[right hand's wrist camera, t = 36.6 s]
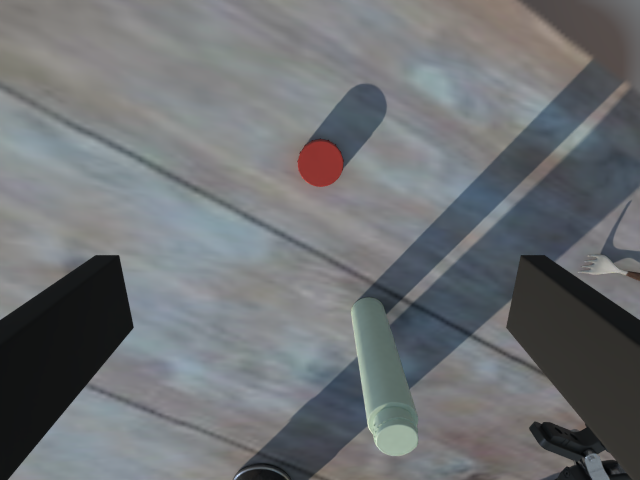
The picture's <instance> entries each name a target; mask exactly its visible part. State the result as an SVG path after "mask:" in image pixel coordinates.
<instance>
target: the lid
mask: <svg viewBox="0 0 640 480" xmlns="http://www.w3.org/2000/svg"><path fill="white" fill-rule="evenodd" d="M343 162H344V160H343V158H342V155H341V151H339V149H338V148H337V146H336V144H333V143H332V142H330V141H329V140H323V139H318V140H312V141H311V142H309V143H308V144H307V145H305V146H304V148H303V149H302V151H300V156H299V159H298V169H299V172H300V174H301V176H302V178H303V179H304V180H305V181H306V182H308V183H309V184H311V185H313V186H318V187H323V186H328V185H330V184H332V183H334V182H335V181H336V180H337V179H338V178H339V176H340V175H341V173H342V170H343Z"/></svg>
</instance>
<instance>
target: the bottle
mask: <svg viewBox="0 0 640 480" xmlns="http://www.w3.org/2000/svg"><path fill="white" fill-rule="evenodd" d="M351 315H352V322H353V329H354V335H355V342H356V349H357V356H358V362H359V369H360V376H361V383H362V389H363V396H364V403H365V410H366V416H367V423H368V427H369V430H370V431H371V432H372V434H373V435H374V442H375V444H376V446H377V447H378V448H379V450H380V451H382V452H383V453H385V454H387V455H391V456H400V455H404V454H407V453H409V452H411V451H412V450H413V449H414V448H416V446H417V445H418V434H417V433H418V429H417V424H418V416H417V412H416V409H415V406H414V403H413V399H412V396H411V393H410V390H409V387H408V383H407V380H406V377H405V374H404V371H403V367H402V364H401V361H400V358H399V355H398V351H397V348H396V345H395V342H394V339H393V335H392V332H391V329H390V326H389V322H388V319H387V316H386V313H385V310H384V307H383V305H382V303H381V302H380V301H379V300H377V299H375V298H370V297H367V298H362V299H360V300H358V301H357V302H356V303H355V304H354V305H353V307H352V310H351Z"/></svg>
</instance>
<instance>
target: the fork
mask: <svg viewBox="0 0 640 480" xmlns="http://www.w3.org/2000/svg"><path fill="white" fill-rule="evenodd" d="M587 256H591V257H596V259H595V260H586V261H585V262H592V263H593V264H592V265H586V266H581V267H586V268H590V270H585V271H579V272H578V273H589V274H605V273H621V274H624V275H627V276H629V277H632V278H634V279H636V280H639V281H640V273H636V272H630V271H624V270H620V269H618V268H617V267H616V266H615V265H614V264H613V263H612V261H611V260H610V259H609V258H608V257H606V256H605V255H587Z"/></svg>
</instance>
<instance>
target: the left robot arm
mask: <svg viewBox="0 0 640 480" xmlns="http://www.w3.org/2000/svg"><path fill="white" fill-rule="evenodd" d="M585 425H586V427H587V428H585V429H583V430H582V431H579V430H577V429H573V430H568V429H565V428H563V427H559V426H558V425H555V424H553V423H550V422H543V424H540V423H538V422H534V423H533V424H532V425H531V426H530V427H529V429H530V431H531V432H532V434H533V435H534V437H535V439H536V440H537V442H538V443H539V444H540V445H541V446H542V447H543V448H544V449H546V450H548V451H551V452H553V453H556V454H558V455H561V456H564V457H566V458H569V459H571V460H573V461H574V466H571V467H566V468H565V469H564V470H563V471H562V472H561V473H560V475H559V477H558V478H557V479H556V480H632V479H631V478H630V476H629V475H628V474H627V473H626V472H625V470H624V469H623V468H622V467H621V466H620V464H619V463H618V462H617V461H615V460H606V461H601V459H600V456H599V455H598V454H599V453H600V452H602V451H604V450H606V451H607V452H609V451H608V450H607V449H606V447H605V446H604V445H603V444H602V443H601V441H600V440H599V439H598V438H597V437H596V435H595V434H594V433H593V432H592V431H591V429H590V428H589V427H588V426H587V424H586V423H585ZM609 453H610V452H609ZM233 480H291V479H290V477H289V476H288V475H287V474H286V473H285V472H284V471H283V470H281V469H279V468H277V467H274V466H271V465H265V464H257V465H251V466H248V467H245V468H243V469H241V470H240V471H239V472H238V473H237V474H236V475H235V476H234V478H233Z"/></svg>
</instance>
